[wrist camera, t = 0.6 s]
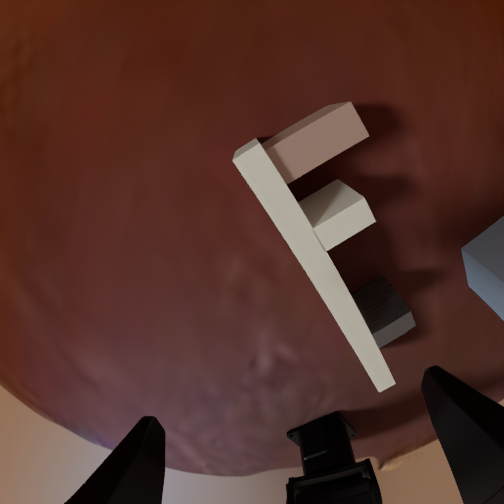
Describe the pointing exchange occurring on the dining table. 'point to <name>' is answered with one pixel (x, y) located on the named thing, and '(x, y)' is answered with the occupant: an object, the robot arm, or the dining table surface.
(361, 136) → the white notched bar
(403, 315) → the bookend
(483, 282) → the boxed book
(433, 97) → the dining table surface
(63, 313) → the dining table surface
